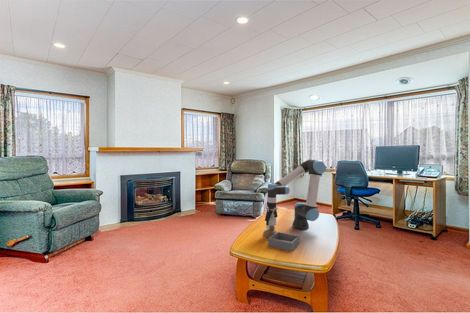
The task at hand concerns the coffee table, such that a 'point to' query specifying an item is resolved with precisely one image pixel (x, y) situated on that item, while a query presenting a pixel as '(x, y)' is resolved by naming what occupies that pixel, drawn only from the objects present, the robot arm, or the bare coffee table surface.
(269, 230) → the candle holder
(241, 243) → the coffee table surface
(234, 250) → the coffee table surface
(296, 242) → the walled bin
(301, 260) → the coffee table surface
